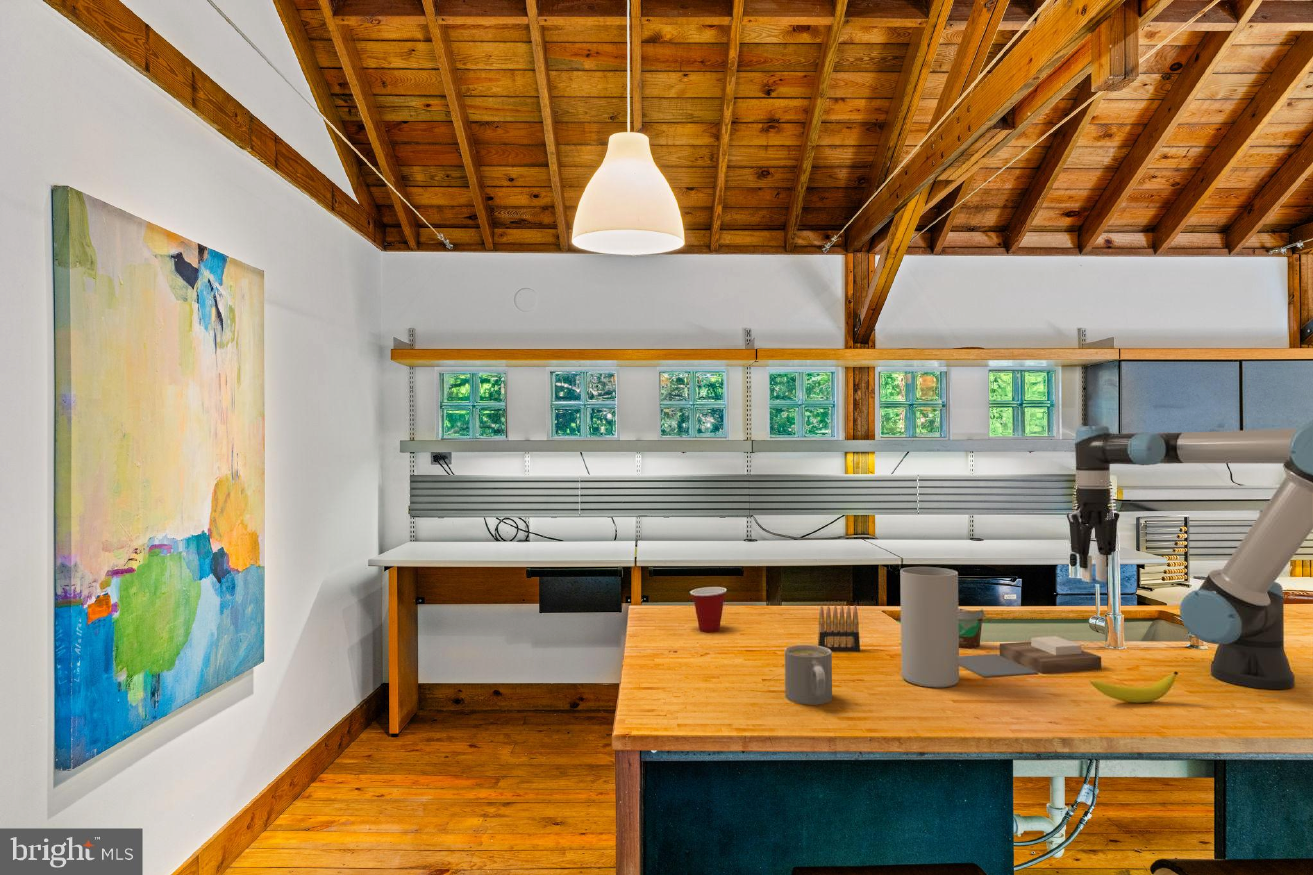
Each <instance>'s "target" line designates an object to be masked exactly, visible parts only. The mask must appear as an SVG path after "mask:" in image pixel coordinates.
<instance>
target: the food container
mask: <svg viewBox="0 0 1313 875" xmlns="http://www.w3.org/2000/svg"><path fill="white" fill-rule="evenodd" d="M985 617H986V613H985V611H984V608H982V609H979V610H973V611H972V610H967V609H965V608H964V609H962V608H958V624H959V649H966V650H967V649H968V650H969V649H970V650H971V649H976V648H979V647H980V646H981V636H982V628H983V627H982V625H983V619H985Z"/></svg>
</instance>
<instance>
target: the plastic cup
mask: <svg viewBox="0 0 1313 875" xmlns="http://www.w3.org/2000/svg"><path fill="white" fill-rule="evenodd" d="M726 592H727V588H725V587H722V586H707V587H701V588H700V587H699V588H695V589H693V590H691V591H689V594H690V595H691V597H692V601H693V602H694V608H695V614H696V618H697V619H696V620H697V624H698V628H699V631H700V632H703V633H715V632H716V633H717V632H719V630H720V628H721V622H722V618H723V617H722V615H723V610H724V601H725V597H726Z"/></svg>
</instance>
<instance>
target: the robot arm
mask: <svg viewBox="0 0 1313 875" xmlns="http://www.w3.org/2000/svg"><path fill="white" fill-rule="evenodd" d="M1074 437H1075V439H1074V450H1075V453H1074V454H1075V485H1076V486H1077V488H1076V489H1075V501H1076V504H1077V507H1076V509H1075V511H1074V512H1072V513H1067V514H1066V517H1067V521H1068V523H1069V534H1070V536H1069V539H1070V547H1071V548H1070V550H1071V552H1072V553H1075V554H1076V555H1078V561H1079V562H1078V563H1079V564H1078V566H1079V568H1080V569H1081V581H1083V582H1086V583H1093V556H1092V555H1089V554H1090V548H1091V540H1092V531H1093V530H1094V534H1095V539H1096V545H1097V546H1096V547H1097V552H1098V553H1095V557H1094V558H1095V580H1096V581H1099V582H1107V568H1109V556H1111V555H1112V554H1113V553H1115V552H1116V551H1117V535H1118V534H1117V533H1118V530H1117V529H1118V521H1119V518H1120V517H1121V516H1120V513H1119V512H1114V511H1112V510H1111V508H1110V506H1109V504H1110V502H1111V489H1110V488H1108V487H1110V486H1111V471H1110V469H1111V467H1110V466H1111V465H1130V466H1131V465H1133V466H1134V465H1137V466H1138V465H1139V466H1151V465H1159V464H1164V465H1165V464H1167V465H1168V464H1169V465H1170V464H1271V465H1272V464H1273V465H1274V464H1275V465H1276V464H1277V465H1278V464H1280V465H1281V464H1282V467H1283V471H1284V473H1285V478H1283V480H1282V482H1281V483H1280V484H1279V486H1278V487H1277V489H1276V491H1275V492H1274V493H1273V495H1272V496H1271V498H1270V499H1269V501H1268V503H1267V504H1266V505H1265V506H1264V508H1263V509H1262V511H1261V513H1260V514H1259V515H1258V517H1257V518H1256V520H1255V521H1254V522H1253V524H1252V526H1251V527H1250V529H1249V530H1248V531H1247V533H1246V534H1245V536H1244V537H1243V538H1242V540H1241V542H1240V543H1239V544H1238V546H1237V547H1236V549H1235V550H1234V552H1233V553H1232V555H1231V556H1230V558H1229V559H1228V560H1227V562H1226V563H1225V565H1224V566H1223V568H1221V569H1220V568H1219V569H1215V570H1211V571H1210V572H1209V573H1208V575H1207V576H1206V578H1205V579H1204V581H1203V582H1202V584H1201V585H1200V586H1199V588H1198V589H1194V590H1192V591H1191V592H1188V594H1187V595H1185V596H1184V597H1183V599H1182V600H1181V602H1180V606H1179V616H1180V618H1181V621H1182V624H1183V625H1184V627H1185V628H1186V630H1187V631H1188V632H1189V633H1190V634H1191V635H1192V636H1194V637H1195V638H1196V639H1198V640H1199V641H1202V642H1205V643H1208V644H1212V645H1217V648H1216V650H1215V653H1214V657H1213V660H1212V661H1211V663H1210V675H1211V676H1212V677H1214V678H1215V679H1218V680H1220V681H1223V682H1226V683H1230V684H1234V685H1237V686H1243V687H1248V688H1254V689H1263V690H1264V689H1265V690H1289V689H1292V688H1294V687H1295V684H1296V681H1295V674H1294V672H1293V671H1292V669H1291V666H1290V663H1289V660H1288V657H1287V654H1286V651H1285V645H1284V644H1285V643H1284V642H1285V640H1284V639H1285V638H1284V636H1285V635H1284V634H1285V629H1284V628H1285V627H1284V625H1285V624H1284V623H1285V621H1284V619H1285V618H1284V615H1285V614H1284V610H1285V609H1284V603H1285V602H1284V601H1285V596H1284V589H1283V587H1282V584H1280V583H1279V582H1276V581H1277V579H1278V578H1279V577H1280V575H1281V574H1282V572H1283V571H1284V570H1285V568H1286V567H1287V565H1289V562H1290V561H1291V560H1292V558H1293V557H1294V555H1295V554H1296V553H1297V552H1298V551H1299V549H1300V548H1301V546H1302V545H1303V543H1304V542H1305V540H1307V538H1308V536H1309V535H1310V534H1311V532H1312V531H1313V419H1312V420H1310V421H1308V422H1305V423H1304V424H1303V425H1301V426H1300V427H1299V428H1285V429H1284V428H1282V429H1254V430H1253V429H1251V430H1249V429H1248V430H1225V431H1224V430H1221V431H1219V430H1218V431H1194V432H1193V431H1192V432H1191V431H1189V432H1159V433H1157V432H1156V433H1154V432H1153V433H1152V432H1133V433H1131V432H1130V433H1111V432H1110V428H1109V426H1107V425H1092V426H1091V425H1090V426H1089V425H1085V426H1083V425H1082V426H1079V427H1077V428H1076V429H1075V436H1074ZM1101 479H1102V481H1101ZM1113 512H1114V517H1113ZM1107 513H1108V520H1107Z"/></svg>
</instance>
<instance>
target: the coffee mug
mask: <svg viewBox="0 0 1313 875" xmlns="http://www.w3.org/2000/svg"><path fill="white" fill-rule="evenodd" d="M784 685H785V686H784V690H785V691H784V692H785V693H784V695H785V698H786V700H788V701H789V702H792V703H796V704H800V705H808V706H809V705H810V706H811V705H812V706H815V705H824V704H827V703H829V702H831V701H832V700H833V652H831V650H830V649H828V648H825V647H822V646H818V645H816V644H796V645H790V646H787V647H785V649H784Z"/></svg>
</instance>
